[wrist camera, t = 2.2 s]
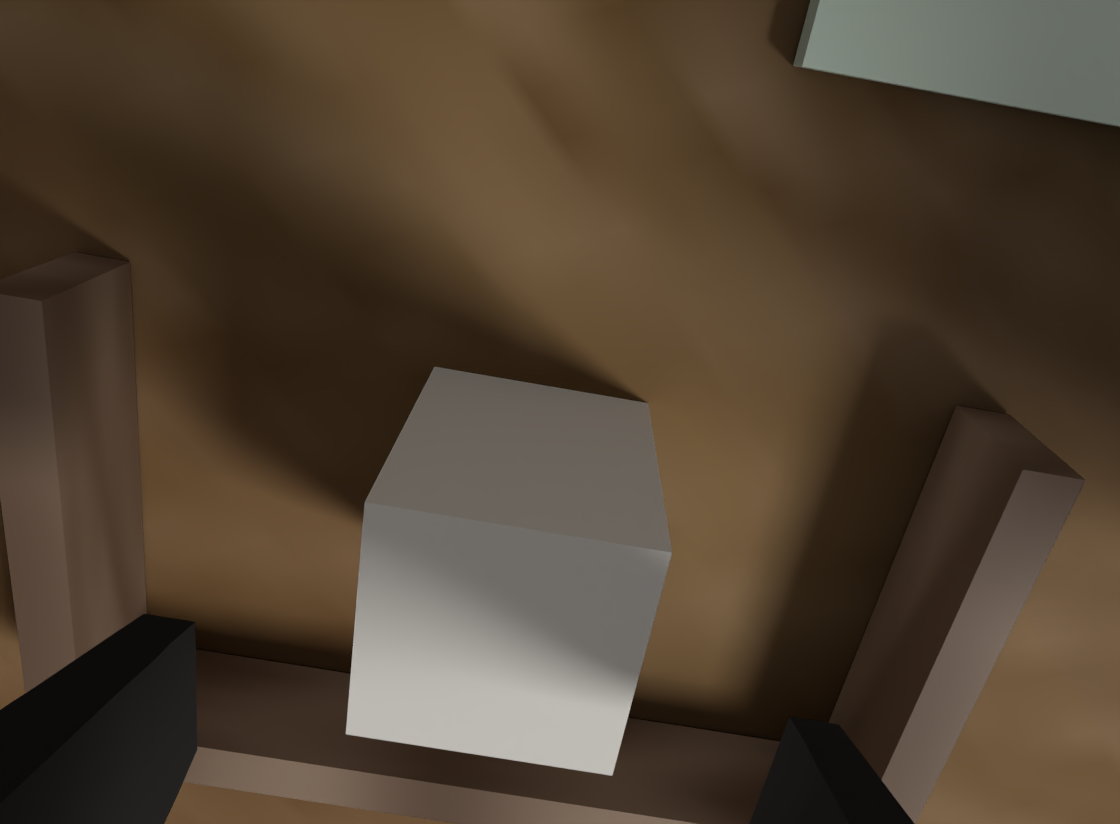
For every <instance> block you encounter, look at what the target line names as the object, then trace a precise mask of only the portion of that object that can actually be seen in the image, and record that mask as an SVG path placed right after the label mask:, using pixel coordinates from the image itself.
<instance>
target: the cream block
mask: <svg viewBox="0 0 1120 824" xmlns="http://www.w3.org/2000/svg"><path fill="white" fill-rule="evenodd" d="M671 554H672V550H671V544H670V537H669V531H668V525H667V519H666V512H665V506H664V500H663V494H662V487H661V481H660V475H659V468H658V462H657V456H656V450H655V443H654V437H653V431H652V425H651V418H650V412H649V406H648V403H645V402H639V401H633V400H627V399H621V398H615V397H610V396H604V395H598V394H592V393H586V392H580V391H574V390H569V389H563V388H557V387H551V386H545V385H539V384H533V383H528V382H522V381H516V380H510V379H504V378H498V377H492V376H487V375H481V374H475V373H469V372H463V371H457V370H452V369H446V368H440V367H434V368H433V370H432V372H431V374H430V376H429V378H428V380H427V382H426V384H425V386H424V388H423V390H422V392H421V394H420V395H419V397H418V399H417V401H416V403H415V405H414V407H413V409H412V411H411V413H410V415H409V417H408V419H407V421H406V423H405V425H404V427H403V428H402V430H401V432H400V434H399V436H398V438H397V440H396V442H395V444H394V446H393V448H392V450H391V452H390V454H389V456H388V458H387V460H386V461H385V463H384V465H383V467H382V469H381V471H380V473H379V475H378V477H377V479H376V481H375V483H374V485H373V487H372V489H371V491H370V493H369V495H368V496H367V498H366V500H365V504H364V516H363V528H362V540H361V553H360V565H359V577H358V589H357V602H356V614H355V626H354V638H353V651H352V663H351V675H350V687H349V700H348V712H347V724H346V734H347V735H353V736H360V737H366V738H373V739H379V740H386V741H392V742H399V743H405V744H411V745H418V746H424V747H431V748H437V749H444V750H450V751H456V752H463V753H469V754H476V755H482V756H489V757H495V758H501V759H508V760H514V761H521V762H527V763H534V764H540V765H547V766H553V767H559V768H566V769H572V770H579V771H585V772H592V773H598V774H604V775H611V776H612V775H613V771H614V768H615V764H616V760H617V756H618V753H619V749H620V745H621V741H622V738H623V734H624V730H625V727H626V723H627V719H628V715H629V712H630V708H631V704H632V700H633V697H634V693H635V689H636V685H637V682H638V678H639V674H640V670H641V667H642V663H643V659H644V655H645V652H646V648H647V644H648V640H649V637H650V633H651V629H652V625H653V622H654V618H655V614H656V610H657V607H658V603H659V599H660V596H661V592H662V588H663V584H664V581H665V577H666V573H667V569H668V566H669V562H670V558H671Z"/></svg>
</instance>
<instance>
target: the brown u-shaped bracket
mask: <svg viewBox="0 0 1120 824" xmlns="http://www.w3.org/2000/svg"><path fill="white" fill-rule="evenodd" d="M1084 482H1085V479H1084V478H1082V477H1081V476H1080V475H1079V474H1078V473H1077V472H1075V471H1074V470H1073V469H1072V468H1071V467H1070V466H1068V465H1067V464H1066V463H1065V462H1064V461H1063V460H1061V459H1060V458H1059V457H1058V456H1057V455H1056V454H1054V453H1053V452H1052V451H1051V450H1050V449H1049V448H1047V447H1046V446H1045V445H1044V444H1043V443H1042V442H1041V441H1039V440H1038V439H1037V438H1036V437H1035V436H1034V435H1032V434H1031V433H1030V432H1029V431H1028V430H1027V429H1025V428H1024V427H1023V426H1022V425H1021V424H1020V423H1018V422H1017V421H1016V420H1015V419H1014V418H1013V417H1011V416H1010V415H1008V414H1003V413H997V412H991V411H985V410H980V409H974V408H968V407H962V406H957V405H956V407H955V410H954V412H953V415H952V417H951V420H950V422H949V425H948V427H947V430H946V432H945V435H944V437H943V439H942V442H941V444H940V447H939V449H938V452H937V454H936V457H935V459H934V462H933V464H932V467H931V469H930V472H929V474H928V477H927V479H926V482H925V484H924V487H923V489H922V492H921V494H920V497H919V499H918V501H917V504H916V506H915V509H914V511H913V514H912V516H911V519H910V521H909V524H908V526H907V529H906V531H905V534H904V536H903V539H902V541H901V544H900V546H899V549H898V551H897V554H896V556H895V559H894V561H893V563H892V566H891V568H890V571H889V573H888V576H887V578H886V581H885V583H884V586H883V588H882V591H881V593H880V596H879V598H878V601H877V603H876V606H875V608H874V611H873V613H872V616H871V618H870V621H869V623H868V626H867V628H866V630H865V633H864V635H863V638H862V640H861V643H860V645H859V648H858V650H857V653H856V655H855V658H854V660H853V663H852V665H851V668H850V670H849V673H848V675H847V678H846V680H845V683H844V685H843V688H842V690H841V692H840V695H839V697H838V700H837V702H836V705H835V707H834V710H833V712H832V715H831V717H830V720H829V722H828V723H833V724H839V725H840V727H841V728H842V729H843V730H844V732H845V733H846V734H847V736H848V737H849V738H850V739H851V741H852V742H853V743H854V745H855V746H856V747H857V748H858V750H859V751H860V752H861V754H862V755H863V756H864V758H865V759H866V760H867V762H868V763H869V764H870V766H871V767H872V768H873V770H874V771H875V772H876V774H877V775H878V776H879V778H880V779H881V780H882V781H883V783H884V784H885V785H886V787H887V788H888V789H889V791H890V792H891V793H892V795H893V796H894V797H895V799H896V800H897V801H898V803H899V804H900V805H901V807H902V808H903V809H904V810H905V812H906V813H907V814H908V816H909V817H910V818H911V820H912V821H913V822H914V824H916V822H917V820H918V818H919V816H920V814H921V812H922V810H923V808H924V806H925V804H926V802H927V800H928V798H929V796H930V794H931V792H932V790H933V788H934V786H935V784H936V782H937V780H938V778H939V776H940V774H941V771H942V769H943V767H944V765H945V763H946V761H947V759H948V757H949V755H950V753H951V751H952V749H953V747H954V745H955V743H956V741H957V739H958V737H959V735H960V733H961V731H962V729H963V727H964V725H965V723H966V721H967V719H968V717H969V715H970V713H971V711H972V709H973V707H974V705H975V703H976V701H977V699H978V697H979V695H980V693H981V691H982V689H983V687H984V685H985V683H986V681H987V678H988V676H989V674H990V672H991V670H992V668H993V666H994V664H995V662H996V660H997V658H998V656H999V654H1000V652H1001V650H1002V648H1003V646H1004V644H1005V642H1006V640H1007V638H1008V636H1009V634H1010V632H1011V630H1012V628H1013V626H1014V624H1015V622H1016V620H1017V618H1018V616H1019V614H1020V612H1021V610H1022V608H1023V606H1024V604H1025V602H1026V600H1027V598H1028V596H1029V594H1030V592H1031V590H1032V588H1033V585H1034V583H1035V581H1036V579H1037V577H1038V575H1039V573H1040V571H1041V569H1042V567H1043V565H1044V563H1045V561H1046V559H1047V557H1048V555H1049V553H1050V551H1051V549H1052V547H1053V545H1054V543H1055V541H1056V539H1057V537H1058V535H1059V533H1060V531H1061V529H1062V527H1063V525H1064V523H1065V521H1066V519H1067V517H1068V515H1069V513H1070V511H1071V509H1072V507H1073V505H1074V503H1075V501H1076V499H1077V497H1078V495H1079V492H1080V490H1081V488H1082V486H1083V484H1084ZM0 500H1V508H2V516H3V523H4V531H5V539H6V547H7V554H8V562H9V570H10V578H11V585H12V593H13V601H14V608H15V616H16V624H17V632H18V639H19V647H20V655H21V663H22V670H23V678H24V686H25V693H27V692H28V691H30V690H31V689H33V688H34V687H36V686H37V685H39V684H40V683H41V682H43V681H44V680H46V679H47V678H49V677H50V676H52V675H53V674H55V673H56V672H58V671H59V670H61V669H62V668H64V667H65V666H67V665H68V664H70V663H71V662H73V661H74V660H75V659H77V658H78V657H80V656H81V655H83V654H84V653H86V652H87V651H89V650H90V649H92V648H93V647H95V646H96V645H98V644H99V643H100V642H102V641H103V640H105V639H106V638H108V637H109V636H111V635H112V634H114V633H115V632H117V631H118V630H120V629H121V628H123V627H125V626H126V625H128V624H129V623H131V622H132V621H134V620H135V619H137V618H138V617H140V616H141V615H143V614H147V605H146V584H145V562H144V541H143V520H142V499H141V478H140V457H139V436H138V415H137V394H136V373H135V352H134V330H133V309H132V288H131V267H130V262H128V261H122V260H116V259H111V258H105V257H99V256H93V255H88V254H82V253H76V252H72V253H69V254H66V255H64V256H61V257H58V258H56V259H53V260H50V261H48V262H45V263H42V264H40V265H37V266H34V267H32V268H29V269H26V270H24V271H21V272H18V273H16V274H13V275H10V276H8V277H5V278H3V279H0ZM350 675H351V674H349V673H343V672H337V671H330V670H324V669H318V668H311V667H305V666H299V665H292V664H286V663H280V662H273V661H267V660H261V659H254V658H248V657H242V656H235V655H229V654H223V653H216V652H210V651H204V650H197V649H196V699H197V752H196V754H195V756H194V758H193V761H192V763H191V765H190V767H189V770H188V772H187V774H186V777H185V779H184V781H183V782H188V783H194V784H201V785H207V786H214V787H220V788H227V789H233V790H240V791H247V792H253V793H260V794H266V795H273V796H279V797H286V798H293V799H299V800H306V801H312V802H319V803H325V804H332V805H338V806H345V807H352V808H358V809H365V810H371V811H378V812H384V813H391V814H398V815H404V816H411V817H417V818H424V819H430V820H437V821H443V822H450V823H457V824H749V823H750V821H751V818H752V815H753V813H754V810H755V807H756V805H757V802H758V799H759V797H760V794H761V791H762V789H763V786H764V783H765V781H766V778H767V775H768V773H769V770H770V767H771V765H772V762H773V759H774V757H775V754H776V751H777V749H778V746H779V743H780V742H779V741H773V740H767V739H760V738H754V737H748V736H742V735H735V734H729V733H723V732H716V731H710V730H704V729H697V728H691V727H685V726H678V725H672V724H666V723H659V722H653V721H647V720H640V719H634V718H628V719H627V723H626V727H625V730H624V734H623V738H622V741H621V745H620V749H619V753H618V756H617V760H616V764H615V768H614V771H613V775H612V776H611V775H604V774H598V773H592V772H585V771H579V770H572V769H566V768H559V767H553V766H547V765H540V764H534V763H527V762H521V761H514V760H508V759H501V758H495V757H489V756H482V755H476V754H469V753H463V752H456V751H450V750H444V749H437V748H431V747H424V746H418V745H411V744H405V743H399V742H392V741H386V740H379V739H373V738H366V737H360V736H353V735H347V734H346V724H347V712H348V700H349V687H350Z"/></svg>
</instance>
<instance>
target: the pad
mask: <svg viewBox="0 0 1120 824" xmlns="http://www.w3.org/2000/svg"><path fill="white" fill-rule="evenodd" d="M793 66H795V67H800V68H806V69H811V70H816V71H822V72H827V73H832V74H838V75H843V76H848V77H854V78H859V79H864V80H870V81H875V82H881V83H886V84H891V85H897V86H902V87H907V88H913V89H918V90H923V91H929V92H934V93H939V94H945V95H950V96H955V97H961V98H966V99H971V100H977V101H982V102H987V103H993V104H998V105H1003V106H1009V107H1014V108H1019V109H1025V110H1030V111H1036V112H1041V113H1046V114H1052V115H1057V116H1062V117H1068V118H1073V119H1078V120H1084V121H1089V122H1094V123H1100V124H1105V125H1110V126H1116V127H1120V0H810V4H809V7H808V11H807V15H806V19H805V22H804V26H803V30H802V34H801V38H800V41H799V45H798V49H797V53H796V57H795V60H794V64H793Z"/></svg>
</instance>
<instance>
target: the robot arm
mask: <svg viewBox="0 0 1120 824" xmlns="http://www.w3.org/2000/svg"><path fill="white" fill-rule="evenodd" d="M196 752H197V699H196V642H195V622H192V621H186V620H179V619H173V618H167V617H161V616H154V615H148V614H143V615H141V616H140V617H138V618H137V619H135V620H134V621H132V622H131V623H129V624H128V625H126V626H125V627H123V628H121V629H120V630H118V631H117V632H115V633H114V634H112V635H111V636H109V637H108V638H106V639H105V640H103V641H102V642H100V643H99V644H98V645H96V646H95V647H93V648H92V649H90V650H89V651H87V652H86V653H84V654H83V655H81V656H80V657H78V658H77V659H75V660H74V661H73V662H71V663H70V664H68V665H67V666H65V667H64V668H62V669H61V670H59V671H58V672H56V673H55V674H53V675H52V676H50V677H49V678H47V679H46V680H44V681H43V682H41V683H40V684H39V685H37V686H36V687H34V688H33V689H31V690H30V691H28V692H27V693H25V694H24V695H22V696H21V697H19V698H18V699H16V700H15V701H13V702H11V703H10V704H8V705H7V706H5V707H4V708H2V709H1V710H0V824H164V823H165V821H166V818H167V816H168V814H169V812H170V810H171V808H172V806H173V803H174V801H175V799H176V797H177V795H178V792H179V790H180V788H181V786H182V783H183V781H184V779H185V777H186V774H187V772H188V770H189V767H190V765H191V763H192V761H193V758H194V756H195V754H196ZM749 824H914V822H913V821H912V820H911V818H910V817H909V816H908V814H907V813H906V812H905V810H904V809H903V808H902V807H901V805H900V804H899V803H898V801H897V800H896V799H895V797H894V796H893V795H892V793H891V792H890V791H889V789H888V788H887V787H886V785H885V784H884V783H883V781H882V780H881V779H880V778H879V776H878V775H877V774H876V772H875V771H874V770H873V768H872V767H871V766H870V764H869V763H868V762H867V760H866V759H865V758H864V756H863V755H862V754H861V752H860V751H859V750H858V748H857V747H856V746H855V745H854V743H853V742H852V741H851V739H850V738H849V737H848V736H847V734H846V733H845V732H844V730H843V729H842V728H841V727H840V725H839V724H833V723H827V722H820V721H814V720H808V719H801V718H795V717H789V719H788V722H787V725H786V727H785V730H784V733H783V735H782V738H781V741H780V743H779V746H778V749H777V751H776V754H775V757H774V759H773V762H772V765H771V767H770V770H769V773H768V775H767V778H766V781H765V783H764V786H763V789H762V791H761V794H760V797H759V799H758V802H757V805H756V807H755V810H754V813H753V815H752V818H751V821H750V823H749Z"/></svg>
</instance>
